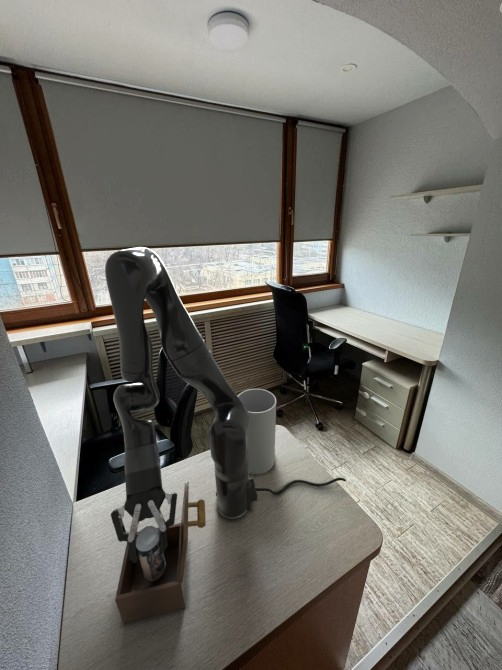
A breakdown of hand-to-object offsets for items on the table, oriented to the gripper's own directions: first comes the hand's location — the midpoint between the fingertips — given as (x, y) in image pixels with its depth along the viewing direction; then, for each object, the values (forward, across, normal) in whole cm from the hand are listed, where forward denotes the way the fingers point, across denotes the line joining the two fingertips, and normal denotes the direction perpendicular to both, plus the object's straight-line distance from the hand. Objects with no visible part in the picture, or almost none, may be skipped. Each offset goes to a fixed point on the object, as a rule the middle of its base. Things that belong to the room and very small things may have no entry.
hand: (149, 556), depth 56 cm
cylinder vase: (-10, +33, +27) cm, 44 cm away
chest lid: (-3, +7, -2) cm, 8 cm away
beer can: (+5, 0, +7) cm, 9 cm away
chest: (+7, 0, +10) cm, 12 cm away
